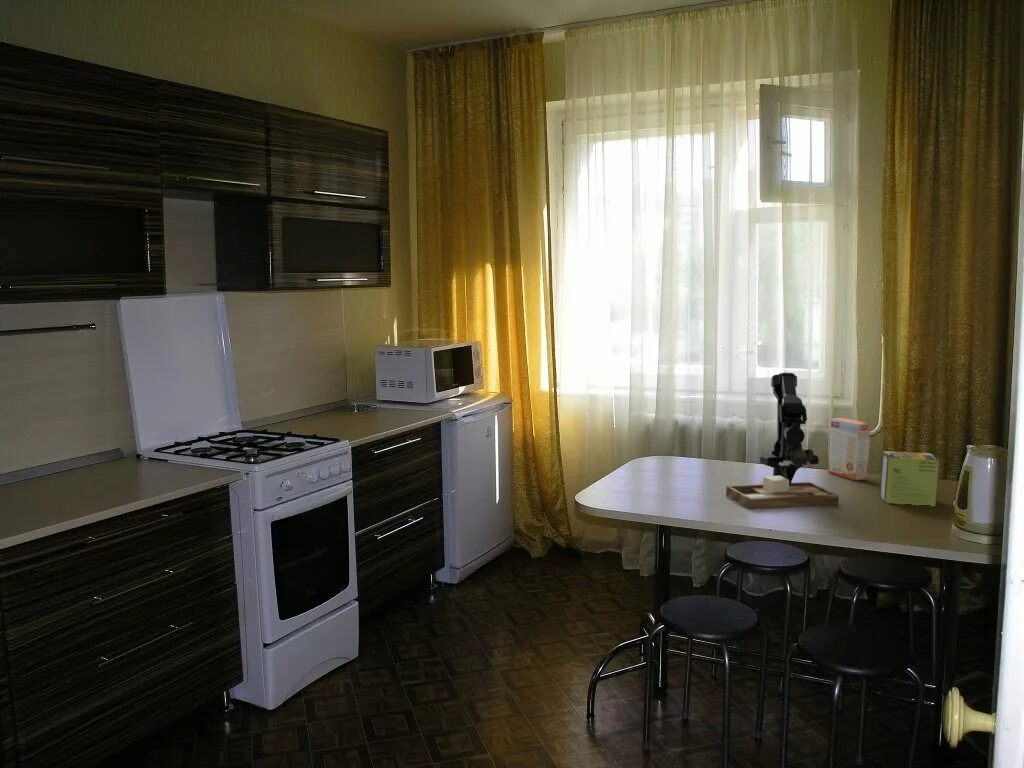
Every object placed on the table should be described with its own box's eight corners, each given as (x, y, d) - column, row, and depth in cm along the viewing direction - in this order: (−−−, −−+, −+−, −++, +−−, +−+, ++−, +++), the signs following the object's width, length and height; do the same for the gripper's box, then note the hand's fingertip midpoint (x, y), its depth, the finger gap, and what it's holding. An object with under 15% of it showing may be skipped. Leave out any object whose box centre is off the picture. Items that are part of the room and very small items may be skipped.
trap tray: (726, 495, 289) (726, 485, 289) (810, 491, 296) (810, 482, 295) (749, 509, 273) (750, 499, 272) (838, 504, 279) (838, 495, 279)
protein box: (936, 506, 278) (939, 459, 276) (884, 503, 281) (888, 457, 279) (928, 498, 288) (931, 453, 286) (879, 495, 291) (882, 450, 289)
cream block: (763, 487, 290) (763, 476, 289) (779, 487, 291) (779, 475, 291) (772, 492, 284) (772, 480, 284) (788, 491, 285) (789, 479, 285)
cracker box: (868, 480, 312) (871, 423, 309) (855, 481, 310) (858, 424, 307) (840, 471, 325) (843, 416, 322) (827, 472, 323) (830, 417, 320)
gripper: (777, 444, 276) (775, 492, 279) (829, 442, 280) (827, 489, 283) (760, 438, 287) (758, 483, 289) (810, 436, 291) (808, 481, 293)
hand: (788, 484), depth 288 cm, fingers closed
